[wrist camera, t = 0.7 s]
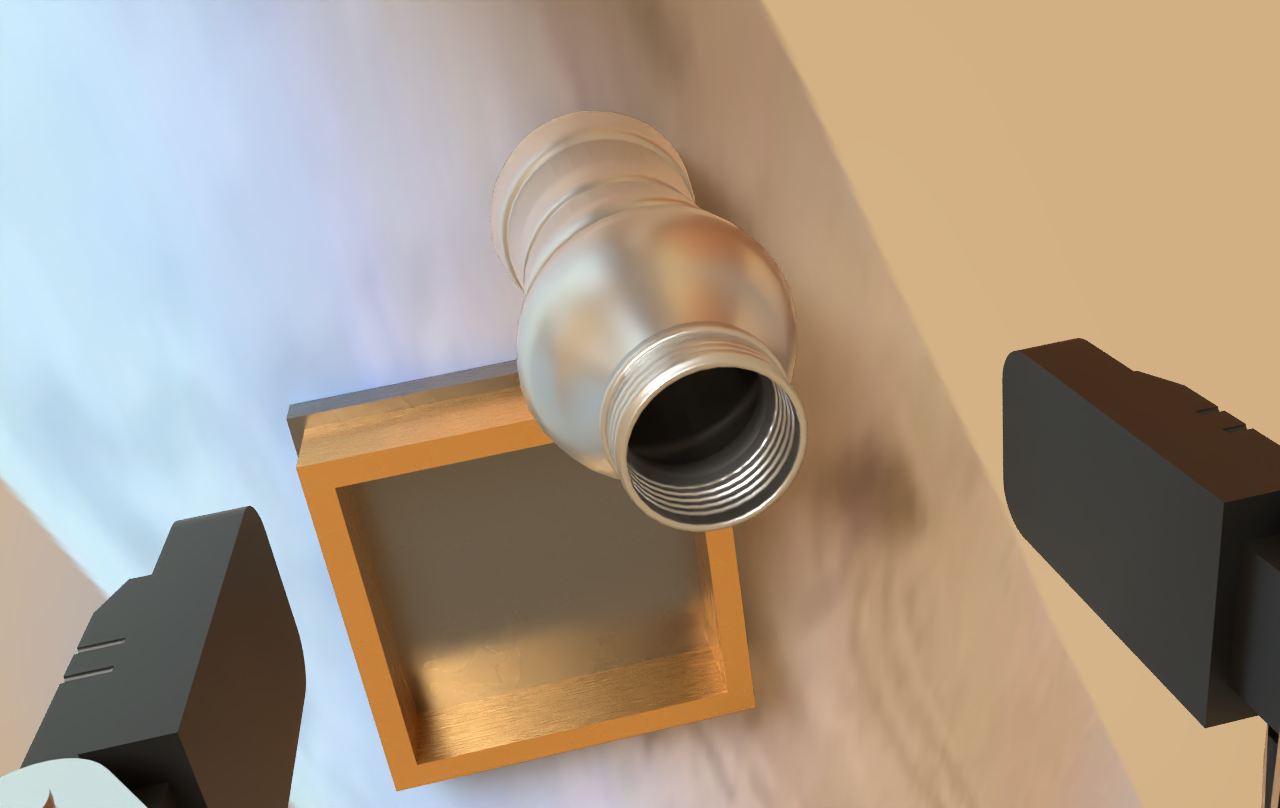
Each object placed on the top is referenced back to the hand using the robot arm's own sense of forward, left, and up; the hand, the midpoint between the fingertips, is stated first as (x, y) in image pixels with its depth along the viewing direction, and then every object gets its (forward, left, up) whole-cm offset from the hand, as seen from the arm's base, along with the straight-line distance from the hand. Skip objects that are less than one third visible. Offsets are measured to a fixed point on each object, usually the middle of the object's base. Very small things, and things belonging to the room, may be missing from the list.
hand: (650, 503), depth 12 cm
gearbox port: (+17, -2, -28) cm, 33 cm away
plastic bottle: (+4, +2, -28) cm, 29 cm away
